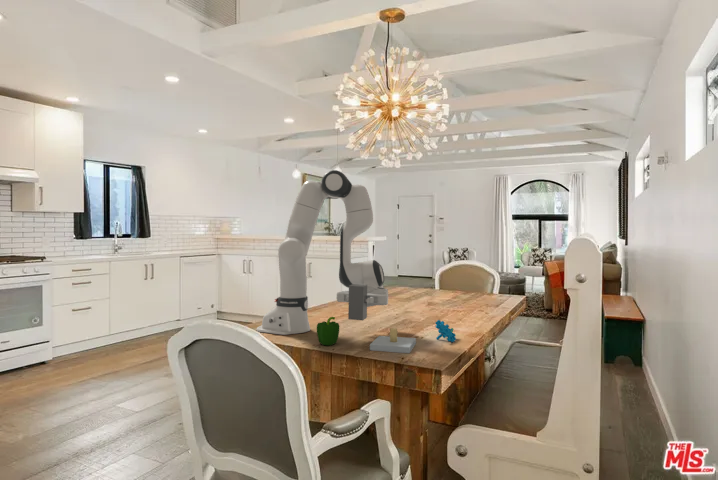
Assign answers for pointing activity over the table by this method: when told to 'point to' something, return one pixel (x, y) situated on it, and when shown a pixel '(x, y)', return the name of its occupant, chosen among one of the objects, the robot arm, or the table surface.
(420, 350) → the table surface
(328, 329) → the bell pepper
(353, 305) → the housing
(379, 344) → the base plate
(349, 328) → the table surface
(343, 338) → the table surface
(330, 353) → the table surface
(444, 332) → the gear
